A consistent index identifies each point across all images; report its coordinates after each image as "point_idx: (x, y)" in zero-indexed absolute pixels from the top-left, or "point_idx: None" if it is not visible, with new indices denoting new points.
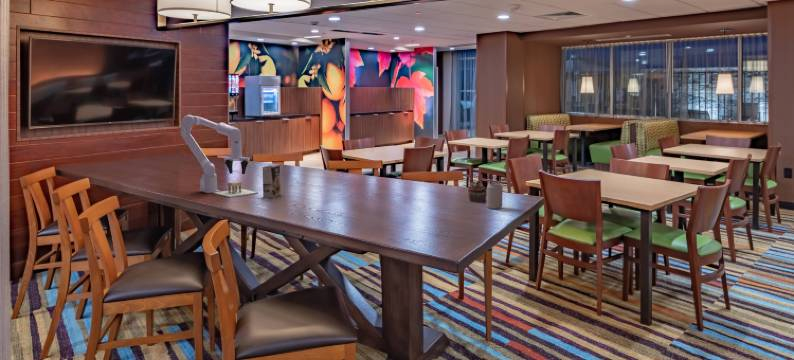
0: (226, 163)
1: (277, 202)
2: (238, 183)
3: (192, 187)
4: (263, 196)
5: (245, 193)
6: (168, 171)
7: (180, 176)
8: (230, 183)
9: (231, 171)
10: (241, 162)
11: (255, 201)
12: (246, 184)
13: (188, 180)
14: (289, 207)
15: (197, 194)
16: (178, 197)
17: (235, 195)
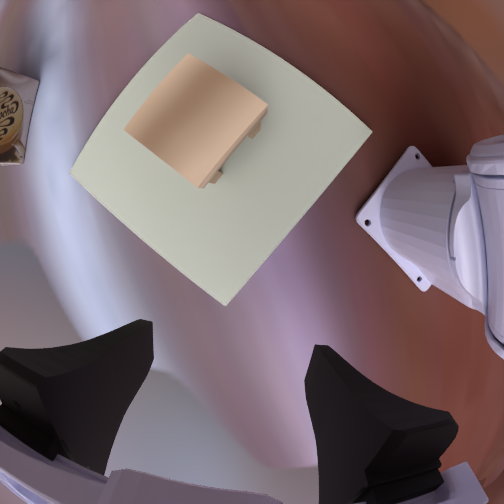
0: (420, 414)
1: (11, 32)
2: (147, 103)
3: None
4: (36, 80)
5: (126, 116)
6: (485, 476)
7: (482, 459)
8: (220, 73)
9: (313, 379)
10: (25, 369)
11: (68, 4)
12: (262, 447)
13: (480, 434)
14: (3, 6)
15: (442, 117)
16: (469, 54)
17: (172, 43)
